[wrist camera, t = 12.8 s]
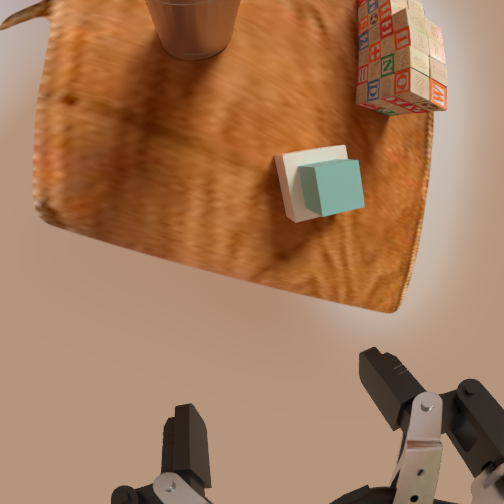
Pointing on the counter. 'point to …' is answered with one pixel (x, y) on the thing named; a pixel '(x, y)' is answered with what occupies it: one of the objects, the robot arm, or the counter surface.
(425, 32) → the stack of blocks
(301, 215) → the white square block
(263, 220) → the counter surface
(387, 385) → the robot arm
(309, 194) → the teal cube
